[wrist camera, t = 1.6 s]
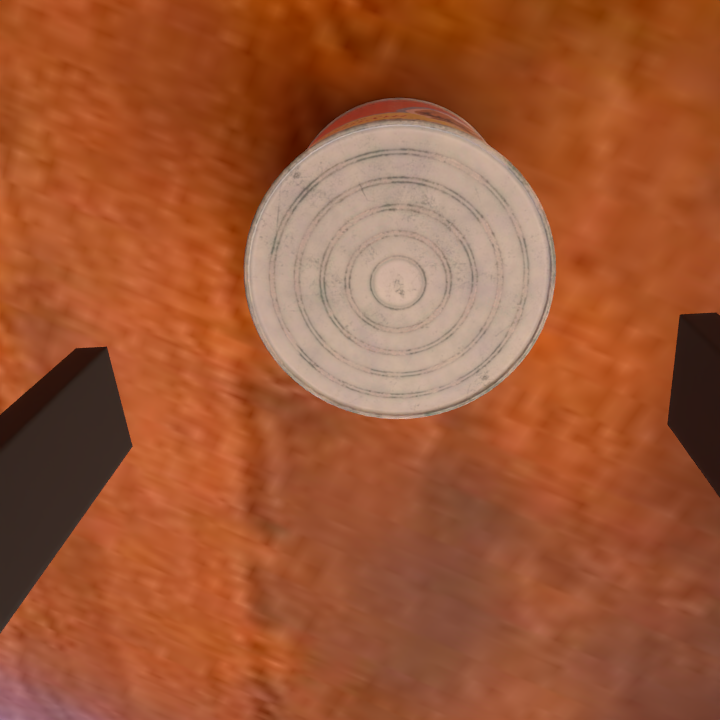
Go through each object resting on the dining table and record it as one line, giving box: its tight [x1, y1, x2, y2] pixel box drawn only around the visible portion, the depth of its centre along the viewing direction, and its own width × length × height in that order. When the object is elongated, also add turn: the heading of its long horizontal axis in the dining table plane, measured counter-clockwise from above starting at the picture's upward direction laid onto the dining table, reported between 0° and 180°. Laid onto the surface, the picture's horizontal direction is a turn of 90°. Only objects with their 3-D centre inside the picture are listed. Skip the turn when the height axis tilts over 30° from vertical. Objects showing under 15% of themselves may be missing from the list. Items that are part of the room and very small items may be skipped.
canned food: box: [244, 98, 556, 419], centre depth 30 cm, size 11×11×12 cm
